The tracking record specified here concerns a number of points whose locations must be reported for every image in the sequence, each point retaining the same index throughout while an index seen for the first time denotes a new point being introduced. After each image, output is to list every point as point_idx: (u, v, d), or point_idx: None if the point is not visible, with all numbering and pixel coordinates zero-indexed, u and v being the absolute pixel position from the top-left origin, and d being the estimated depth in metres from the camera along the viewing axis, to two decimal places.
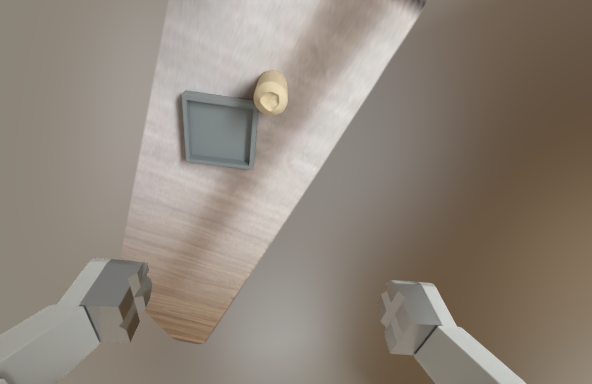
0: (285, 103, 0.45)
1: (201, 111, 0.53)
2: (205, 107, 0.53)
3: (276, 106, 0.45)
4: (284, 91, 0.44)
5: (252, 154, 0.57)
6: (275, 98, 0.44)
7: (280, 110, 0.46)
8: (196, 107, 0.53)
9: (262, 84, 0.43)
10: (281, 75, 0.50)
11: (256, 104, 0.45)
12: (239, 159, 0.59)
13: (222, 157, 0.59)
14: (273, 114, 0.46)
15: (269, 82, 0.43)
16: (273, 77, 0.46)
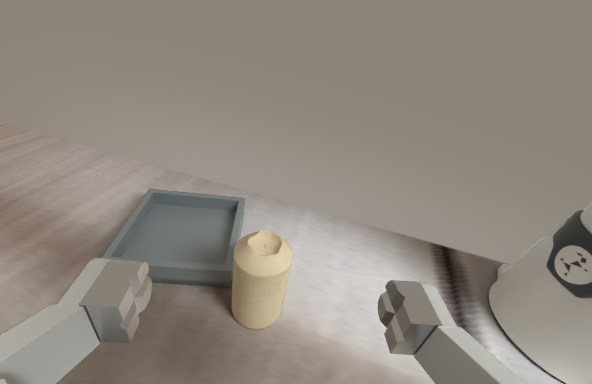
0: (260, 272, 0.24)
1: (218, 218, 0.40)
2: (224, 223, 0.39)
3: (255, 252, 0.24)
4: (280, 269, 0.24)
5: None
6: (269, 253, 0.25)
7: (246, 263, 0.24)
8: (225, 215, 0.41)
9: (286, 241, 0.27)
10: (279, 311, 0.29)
11: None
12: (125, 253, 0.33)
13: (137, 232, 0.36)
14: (237, 254, 0.25)
15: (291, 250, 0.27)
16: None
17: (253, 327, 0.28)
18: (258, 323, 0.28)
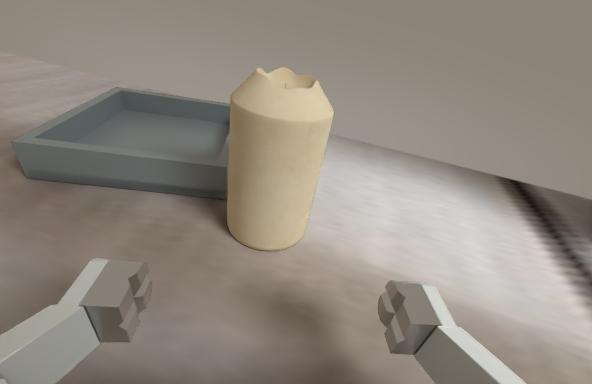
0: (280, 112, 0.13)
1: (211, 129, 0.29)
2: (219, 133, 0.28)
3: (271, 84, 0.13)
4: (316, 116, 0.13)
5: (73, 146, 0.18)
6: None
7: (253, 99, 0.13)
8: (220, 127, 0.30)
9: None
10: (305, 224, 0.18)
11: None
12: None
13: (91, 132, 0.25)
14: (237, 93, 0.14)
15: None
16: None
17: (262, 246, 0.17)
18: (271, 237, 0.17)
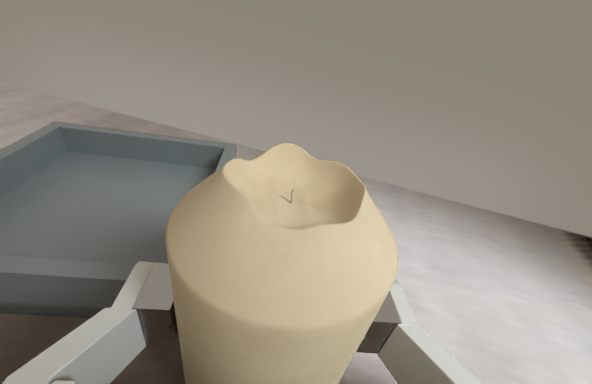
0: (279, 308, 0.05)
1: (185, 179, 0.21)
2: None
3: (258, 214, 0.05)
4: (371, 293, 0.05)
5: None
6: (313, 221, 0.06)
7: (211, 260, 0.05)
8: (198, 175, 0.22)
9: None
10: None
11: None
12: None
13: (2, 197, 0.17)
14: (180, 222, 0.06)
15: None
16: None
17: None
18: None
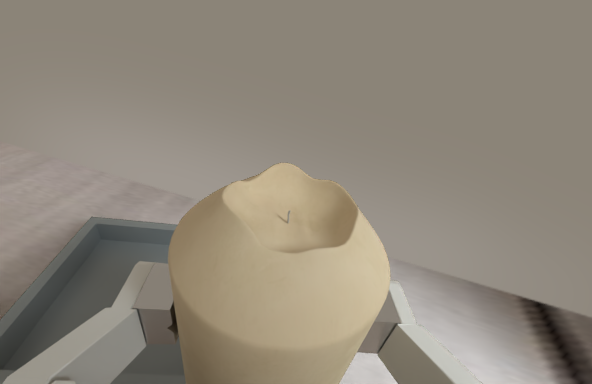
0: (276, 329, 0.05)
1: None
2: None
3: (256, 237, 0.06)
4: (363, 313, 0.06)
5: None
6: (309, 242, 0.06)
7: (212, 284, 0.05)
8: None
9: None
10: None
11: None
12: (23, 344, 0.18)
13: (58, 296, 0.21)
14: (181, 244, 0.06)
15: (375, 233, 0.08)
16: None
17: None
18: None
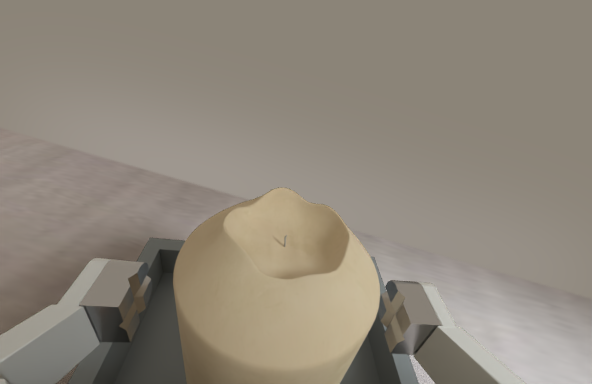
0: (273, 351, 0.05)
1: None
2: None
3: (254, 264, 0.06)
4: (353, 334, 0.06)
5: None
6: (304, 265, 0.07)
7: (214, 308, 0.06)
8: None
9: None
10: None
11: None
12: None
13: None
14: (185, 269, 0.07)
15: (367, 253, 0.08)
16: None
17: None
18: None
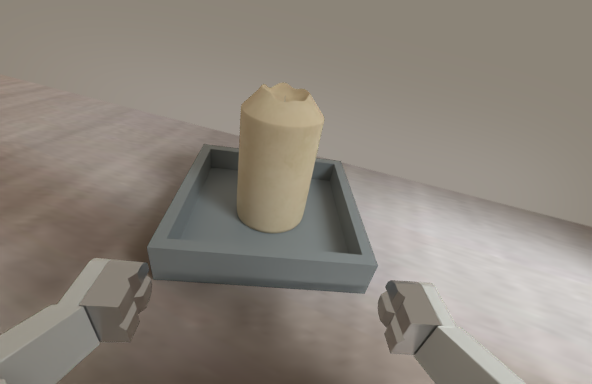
0: (280, 120, 0.16)
1: None
2: (317, 195, 0.26)
3: (273, 97, 0.17)
4: (309, 123, 0.17)
5: (212, 248, 0.16)
6: None
7: (260, 109, 0.16)
8: (314, 185, 0.27)
9: None
10: (302, 211, 0.21)
11: None
12: (183, 235, 0.19)
13: (194, 205, 0.22)
14: (247, 104, 0.17)
15: None
16: None
17: (266, 228, 0.21)
18: (274, 221, 0.20)
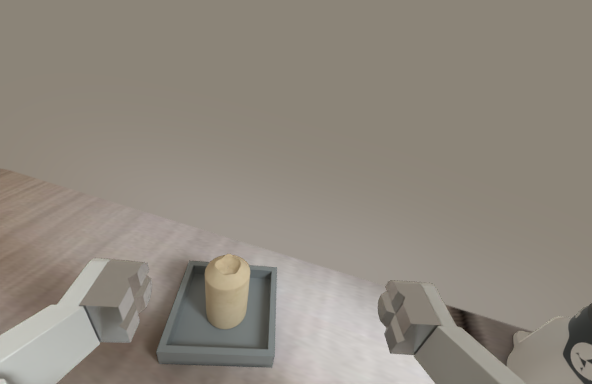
0: (222, 287, 0.32)
1: (253, 289, 0.43)
2: (259, 293, 0.42)
3: (220, 272, 0.33)
4: (238, 285, 0.33)
5: (188, 350, 0.33)
6: (231, 272, 0.34)
7: (212, 280, 0.33)
8: (258, 285, 0.44)
9: (246, 262, 0.36)
10: (242, 315, 0.38)
11: None
12: (175, 334, 0.36)
13: (182, 309, 0.39)
14: (207, 273, 0.34)
15: (249, 269, 0.35)
16: (248, 287, 0.36)
17: (221, 327, 0.37)
18: (225, 324, 0.36)
